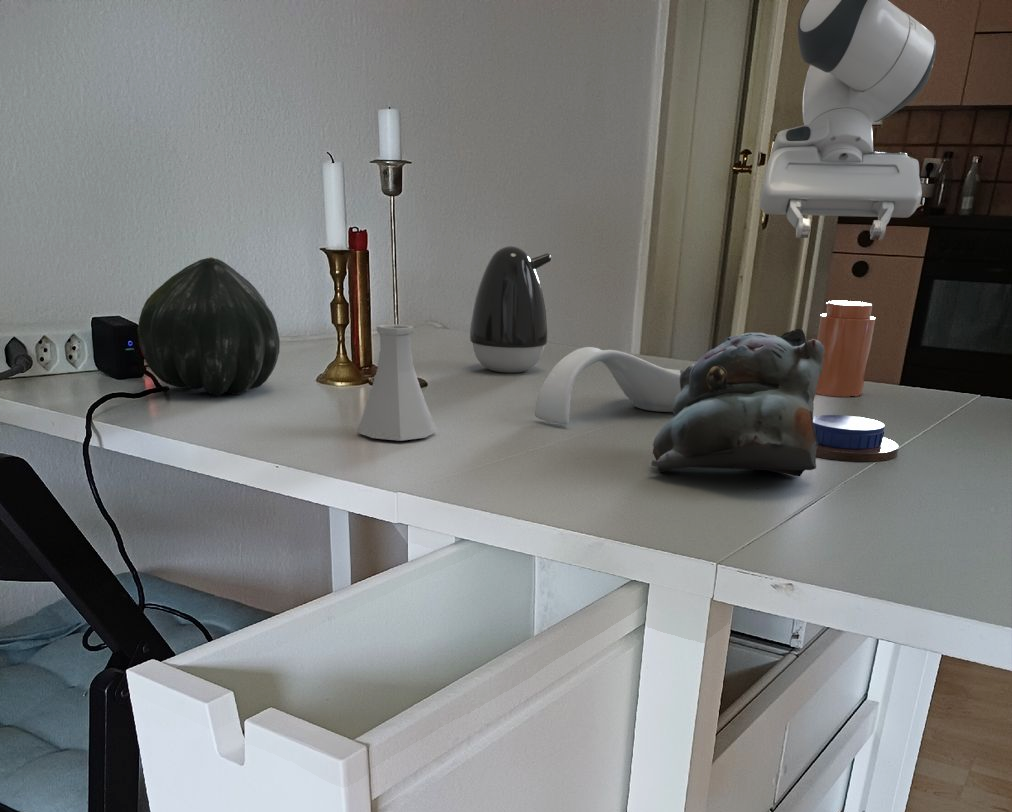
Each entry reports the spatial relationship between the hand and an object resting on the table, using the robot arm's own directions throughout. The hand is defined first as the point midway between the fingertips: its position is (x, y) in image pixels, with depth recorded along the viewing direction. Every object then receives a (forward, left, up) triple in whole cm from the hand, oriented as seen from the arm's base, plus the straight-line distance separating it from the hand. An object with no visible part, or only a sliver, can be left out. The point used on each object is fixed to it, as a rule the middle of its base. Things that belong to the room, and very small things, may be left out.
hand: (840, 235), depth 130 cm
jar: (+2, +12, -18) cm, 21 cm away
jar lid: (+13, +43, -15) cm, 48 cm away
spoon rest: (+31, +27, -18) cm, 45 cm away
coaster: (+13, +43, -18) cm, 48 cm away
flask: (+56, +39, -18) cm, 71 cm away
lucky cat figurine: (+27, +52, -18) cm, 61 cm away
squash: (+77, +17, -18) cm, 81 cm away
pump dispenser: (+42, -1, -18) cm, 46 cm away
